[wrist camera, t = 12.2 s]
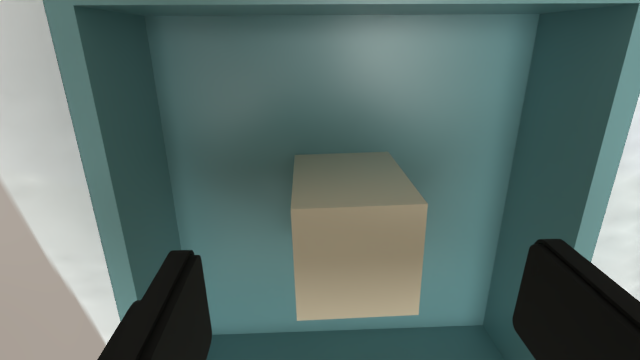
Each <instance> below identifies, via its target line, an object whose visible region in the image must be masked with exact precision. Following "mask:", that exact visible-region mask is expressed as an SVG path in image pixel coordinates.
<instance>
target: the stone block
mask: <svg viewBox="0 0 640 360" xmlns="http://www.w3.org/2000/svg"><path fill="white" fill-rule="evenodd" d="M427 209H428V203H427V202H426V201H425V200H424V198H423V197H422V196H421V194H420V193H419V192H418V190H417V189H416V188H415V186H414V185H413V184H412V182H411V181H410V180H409V178H408V177H407V176H406V174H405V173H404V172H403V171H402V169H401V168H400V167H399V165H398V164H397V163H396V161H395V160H394V159H393V157H392V156H391V155H390V153H389V152H365V153H336V154H308V155H295V158H294V171H293V185H292V198H291V225H292V242H293V260H294V278H295V295H296V313H297V321H303V320H323V319H344V318H364V317H385V316H406V315H419V303H420V291H421V279H422V268H423V256H424V244H425V232H426V220H427Z"/></svg>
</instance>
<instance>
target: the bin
mask: <svg viewBox="0 0 640 360" xmlns="http://www.w3.org/2000/svg"><path fill="white" fill-rule="evenodd" d="M43 3H44V7H45V12H46V16H47V20H48V24H49V28H50V32H51V36H52V41H53V45H54V49H55V53H56V57H57V61H58V65H59V69H60V74H61V78H62V82H63V86H64V90H65V94H66V98H67V102H68V107H69V111H70V115H71V119H72V123H73V127H74V131H75V135H76V140H77V144H78V148H79V152H80V156H81V160H82V164H83V169H84V173H85V177H86V181H87V185H88V189H89V193H90V197H91V202H92V206H93V210H94V214H95V218H96V222H97V226H98V230H99V235H100V239H101V243H102V247H103V251H104V255H105V259H106V263H107V268H108V272H109V276H110V280H111V284H112V288H113V292H114V296H115V301H116V305H117V309H118V313H119V317H120V321H121V320H122V319H123V317H124V316H125V314H126V312H127V311H128V309H129V307H130V306H131V305H132V303H133V302H135V301H137V300H141V299H142V298H143V296H144V294H145V293H146V291H147V289H148V287H149V286H150V284H151V282H152V281H153V279H154V277H155V276H156V274H157V272H158V270H159V269H160V267H161V265H162V264H163V262H164V260H165V258H166V257H167V255H168V253H169V252H170V251H172V250H193V252H194V255H200V256H201V260H202V267H203V273H204V280H205V287H206V294H207V300H208V307H209V314H210V321H211V328H212V340H211V345H210V349H209V352H208V356H207V359H206V360H535V358H534V357H533V355H532V354H531V353H530V351H529V350H528V348H527V347H526V345H525V344H524V343H523V341H522V340H521V338H520V337H519V336H518V334H517V333H516V331H515V329H514V327H513V322H512V318H513V313H514V309H515V305H516V301H517V297H518V293H519V288H520V284H521V280H522V276H523V272H524V267H525V263H526V259H527V255H528V251H529V248H530V246H531V245H533V244H534V243H535V242H536V241H537V240H539V239H562V240H563V241H565V242H566V243H567V244H568V245H570V246H571V247H572V248H573V249H575V250H576V251H577V252H578V253H580V254H581V255H582V256H583V257H585V258H586V259H587V260H588V261H590V262H591V260H592V256H593V253H594V250H595V246H596V243H597V239H598V236H599V232H600V229H601V225H602V222H603V218H604V215H605V211H606V208H607V205H608V201H609V198H610V194H611V191H612V187H613V184H614V180H615V177H616V173H617V170H618V166H619V163H620V159H621V156H622V153H623V149H624V146H625V142H626V139H627V135H628V132H629V128H630V125H631V121H632V118H633V114H634V111H635V108H636V104H637V101H638V97H639V94H640V0H43ZM365 152H389V153H390V155H391V156H392V157H393V159H394V160H395V161H396V163H397V164H398V165H399V167H400V168H401V169H402V171H403V172H404V173H405V174H406V176H407V177H408V178H409V180H410V181H411V182H412V184H413V185H414V186H415V188H416V189H417V190H418V192H419V193H420V194H421V196H422V197H423V198H424V200H425V201H426V202H427V203H428V209H427V220H426V232H425V244H424V256H423V268H422V279H421V291H420V303H419V315H406V316H385V317H364V318H344V319H323V320H303V321H297V313H296V295H295V278H294V260H293V242H292V225H291V198H292V185H293V171H294V158H295V155H308V154H336V153H365Z"/></svg>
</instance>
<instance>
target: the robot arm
mask: <svg viewBox="0 0 640 360" xmlns="http://www.w3.org/2000/svg"><path fill="white" fill-rule="evenodd" d="M512 322H513V327H514V329H515V331H516V333H517V334H518V336H519V337H520V338H521V340H522V341H523V343H524V344H525V345H526V347H527V348H528V350H529V351H530V353H531V354H532V355H533V357H534V358H535V360H640V302H639V301H638V300H637V299H635V298H634V297H633V296H632V295H630V294H629V293H628V292H627V291H625V290H624V289H623V288H622V287H620V286H619V285H618V284H617V283H616V282H614V281H613V280H612V279H611V278H609V277H608V276H607V275H606V274H604V273H603V272H602V271H601V270H599V269H598V268H597V267H596V266H594V265H593V264H592V263H591V262H590V261H588V260H587V259H586V258H585V257H583V256H582V255H581V254H580V253H578V252H577V251H576V250H575V249H573V248H572V247H571V246H570V245H568V244H567V243H566V242H565V241H563V240H562V239H539V240H537V241H536V242H535V243H534V244H533V245H531V246H530V248H529V251H528V255H527V259H526V263H525V267H524V272H523V276H522V280H521V284H520V288H519V293H518V297H517V301H516V305H515V309H514V313H513V318H512ZM211 340H212V328H211V321H210V314H209V307H208V300H207V294H206V287H205V280H204V273H203V267H202V260H201V256H200V255H194V252H193V250H172V251H170V252H169V253H168V255H167V257H166V258H165V260H164V262H163V264H162V265H161V267H160V269H159V270H158V272H157V274H156V276H155V277H154V279H153V281H152V282H151V284H150V286H149V287H148V289H147V291H146V293H145V294H144V296H143V298H142V299H141V300H137V301H135V302H133V303H132V305H131V306H130V307H129V309H128V311H127V312H126V314H125V316H124V317H123V319H122V320H121V322H120V324H119V325H118V327H117V329H116V330H115V332H114V334H113V335H112V337H111V338H110V340H109V342H108V343H107V345H106V347H105V348H104V350H103V352H102V353H101V355H100V356H99V358H98V360H206V359H207V356H208V352H209V349H210V345H211Z"/></svg>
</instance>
